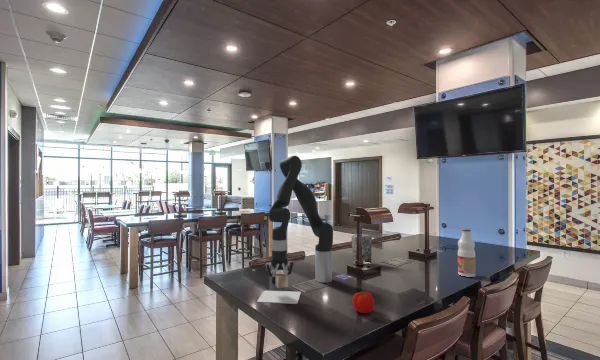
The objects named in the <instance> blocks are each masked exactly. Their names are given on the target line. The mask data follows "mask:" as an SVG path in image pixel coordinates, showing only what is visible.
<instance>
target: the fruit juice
mask: <svg viewBox="0 0 600 360" xmlns="http://www.w3.org/2000/svg"><path fill="white" fill-rule="evenodd" d="M471 232H472V230H471V229H470V228H461V236H460V238H459V239H458V241H457V247H458V248H457V249H458V250H457V275H458V274H459V275H461V276H466V277H474V276H475V277H476V275H477V273H476V272H477V271H476V269H477V268H476V266H477V263H476V251H475V247H476V244H475V240H474V239H473V238H472V236H471ZM459 275H458V276H459ZM461 276H460V277H461ZM475 277H474V278H475Z"/></svg>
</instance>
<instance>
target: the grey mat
mask: <svg viewBox="0 0 600 360" xmlns="http://www.w3.org/2000/svg"><path fill="white" fill-rule="evenodd" d="M301 295H302V292H301V291H287V290H286V291H285V290H283V291H282V290H264V291H263V292H262V294H261V295H260V296H259V298H258V299H257V301H256V303H265V304H267V303H268V304H285V305H286V304H288V305H289V304H291V305H292V304H293V305H297V304H298V302H299V300H300V297H301Z"/></svg>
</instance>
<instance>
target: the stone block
mask: <svg viewBox="0 0 600 360" xmlns="http://www.w3.org/2000/svg"><path fill="white" fill-rule="evenodd" d="M357 235H358V234H356V235H355V234H354V235H352V236H351V249H352V250H351V251H352V253H351V256H352V257H351V258H352V259H351V260H352V264H353V263H355V261H356V260H357ZM361 235H362V261H365V262H370V263H371V264H372V248H373V247H372V243H373V242H372V239H373V238H372V236H371V235H369V234H361Z"/></svg>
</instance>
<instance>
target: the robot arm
mask: <svg viewBox="0 0 600 360" xmlns="http://www.w3.org/2000/svg"><path fill="white" fill-rule="evenodd" d="M302 165H303V162H302V160H301V158H300V157H299V156H297V155H292V156H288V157H286V158H283V159H282V160H280V162H279V169H280V171H281V173H282V175H283V176H284V178H285V179H284V180H283V182H282V183H281V185H280V186H279V188H278V191H277V194H276V199H275V200H274V202H273V204H272V206H271V207H270V208H269V210H268V219H269V221H270V222H271V223H281V224H280V226H276V227H273V228H272V230H271V231H272V233H271V234H272V235H271V236H272V237H271V239H272V240H271V261H270V262H268V263H267V262H266V263H265V269H266V273H267V275H268V277H270V278H271V280H270V281H271V284H272V285H273V286H276V285H275V274H276V272H277V270H282V271H283V272H284V273H285V274H286V275H287V276H288V277H289V275H291V274H292V272H293V266H294V262H293V261H292V260H290V261H289V260H288V239H287V238H288V237H287V235H288V234H287V233H288V227H289V222H290V220H291V212H290V210H289V209H288V208H287V207H289V205H290V203H291V199H292V193H294V195H295V197H296V199H297V201H298V203H299V205H300V207H301V209H302V211H303V212H304V214H305V217H306V218H307V219H308V222H309V225H310V227H311V230H312V233H313V234H314V236H315V237H317V238H318V243H317V244H316V245H315V249H314V250H315V251H314V252H315V253H314V254H315V257H314V258H315V260H314V261H315V266H314V267H315V270H314V271H315V272H314V273H315V274H314V275H315V277H314V278H315V282H317V283H323V284H324V283H326V284H327V283H332V279H333V278H332V277H333V276H332V275H333V273H332V272H333V271H332V270H333V269H332V267H333V266H332V247H333V243H334V242H333V241H334V228H333V226H332V224H331V223H329V222H324V221H323V220H322V218H321V216H320V215H319V212H318V203H317V199H316V196H315V195H314V192H313V191H312V190H311V188H310V187H308V186H307V185H306V184H304V183H303V182H302V181H300V180H299V179H298V178H299V176H300V173H301V171H302V167H303V166H302ZM271 266H272V270H271ZM287 266H288V267H287ZM286 267H287V269H286ZM271 271H272V273H271Z"/></svg>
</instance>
